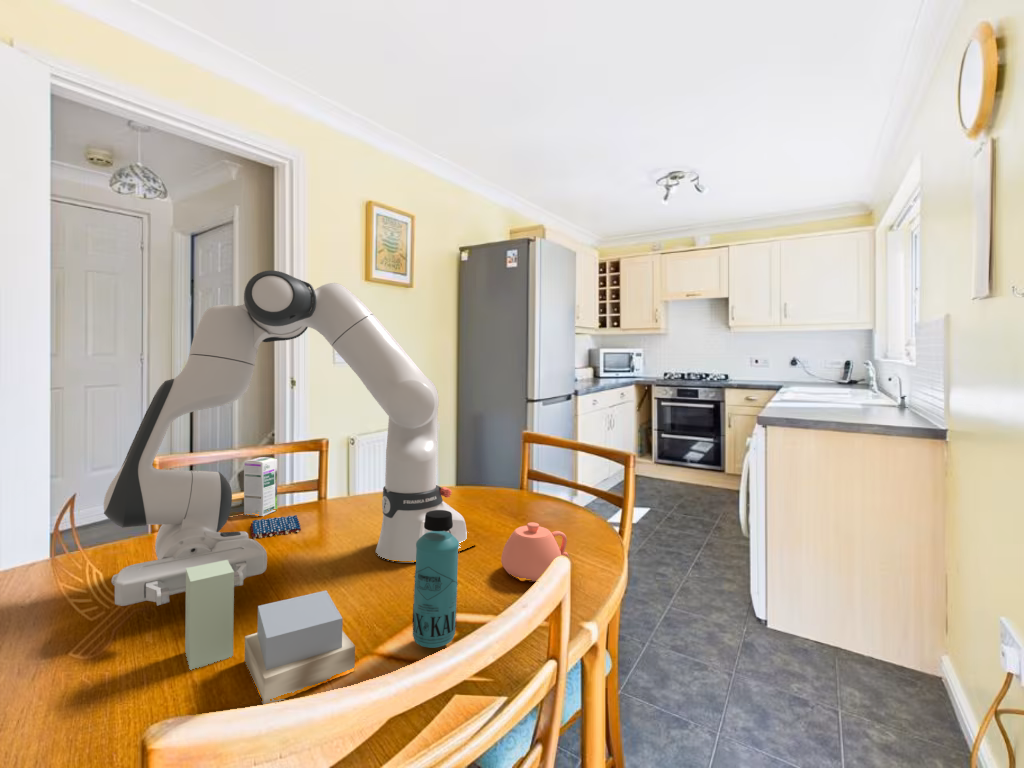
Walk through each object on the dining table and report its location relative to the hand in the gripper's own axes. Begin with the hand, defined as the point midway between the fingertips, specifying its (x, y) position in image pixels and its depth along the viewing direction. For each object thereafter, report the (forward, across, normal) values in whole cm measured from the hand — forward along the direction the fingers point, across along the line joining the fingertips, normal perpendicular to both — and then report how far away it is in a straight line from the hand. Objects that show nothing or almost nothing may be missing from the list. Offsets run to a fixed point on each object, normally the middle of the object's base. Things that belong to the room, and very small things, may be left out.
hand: (202, 590), depth 71 cm
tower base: (+17, +9, +7) cm, 20 cm away
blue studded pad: (-40, +20, +7) cm, 46 cm away
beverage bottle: (+24, +26, +7) cm, 36 cm away
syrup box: (-55, +20, +7) cm, 59 cm away
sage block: (+7, 0, +6) cm, 9 cm away
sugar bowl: (+15, +55, +7) cm, 57 cm away
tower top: (+17, +9, +3) cm, 19 cm away
